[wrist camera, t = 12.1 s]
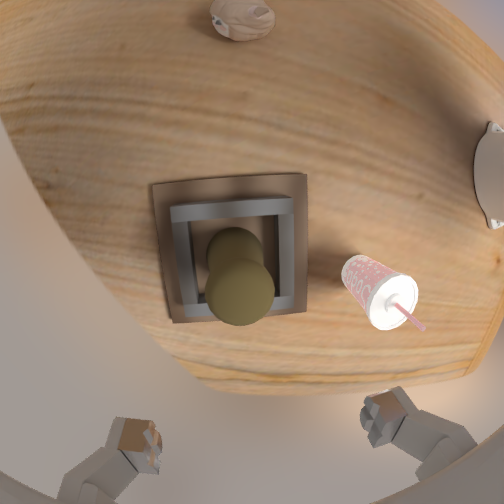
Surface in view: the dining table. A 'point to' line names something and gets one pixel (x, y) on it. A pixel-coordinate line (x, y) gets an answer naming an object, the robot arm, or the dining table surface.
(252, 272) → the olive pawn peg
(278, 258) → the socket base
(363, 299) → the beverage cup
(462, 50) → the dining table surface
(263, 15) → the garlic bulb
